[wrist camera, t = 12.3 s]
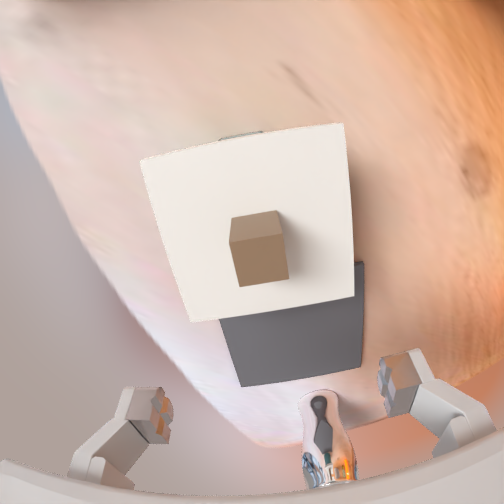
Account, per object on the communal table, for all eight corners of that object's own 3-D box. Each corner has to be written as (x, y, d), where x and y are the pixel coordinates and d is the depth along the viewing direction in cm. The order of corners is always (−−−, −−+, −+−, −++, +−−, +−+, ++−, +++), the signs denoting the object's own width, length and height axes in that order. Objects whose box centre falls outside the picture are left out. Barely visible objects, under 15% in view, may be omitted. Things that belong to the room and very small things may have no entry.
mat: (362, 261, 32) (364, 264, 32) (359, 363, 39) (360, 367, 39) (210, 287, 33) (210, 290, 33) (241, 383, 40) (241, 387, 40)
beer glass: (286, 398, 42) (297, 491, 29) (332, 381, 41) (354, 475, 28) (304, 419, 45) (316, 502, 32) (346, 403, 44) (367, 487, 30)
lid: (339, 122, 20) (363, 129, 16) (351, 290, 27) (368, 326, 22) (142, 159, 21) (118, 175, 17) (192, 316, 28) (184, 355, 23)
